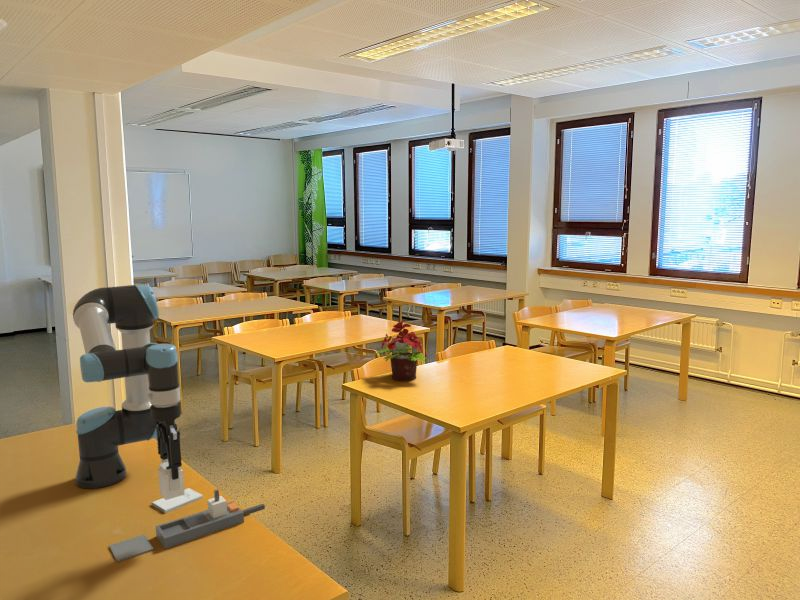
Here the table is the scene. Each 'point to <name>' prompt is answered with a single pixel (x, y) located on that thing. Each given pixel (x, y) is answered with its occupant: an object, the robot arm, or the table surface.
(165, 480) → the block
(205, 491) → the table surface
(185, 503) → the external hard drive
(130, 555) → the mat
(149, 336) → the robot arm
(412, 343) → the potted plant
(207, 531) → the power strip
